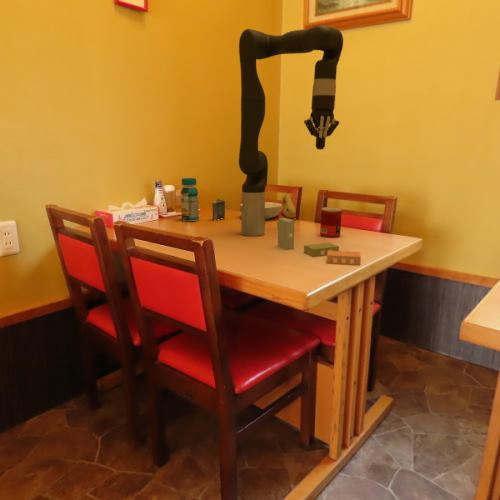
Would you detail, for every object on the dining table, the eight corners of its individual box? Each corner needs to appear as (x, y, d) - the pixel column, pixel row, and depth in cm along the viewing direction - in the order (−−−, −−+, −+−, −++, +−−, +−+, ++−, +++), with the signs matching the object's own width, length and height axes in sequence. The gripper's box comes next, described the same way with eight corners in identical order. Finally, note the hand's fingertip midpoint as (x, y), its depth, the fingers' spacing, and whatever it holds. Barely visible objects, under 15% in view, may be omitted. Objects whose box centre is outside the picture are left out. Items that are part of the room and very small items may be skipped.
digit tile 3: (327, 255, 127) (360, 257, 125) (327, 250, 133) (359, 252, 131) (326, 264, 127) (360, 266, 126) (327, 259, 133) (358, 261, 132)
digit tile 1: (286, 249, 144) (287, 221, 141) (277, 246, 149) (278, 218, 146) (294, 248, 145) (294, 221, 142) (284, 245, 150) (285, 218, 148)
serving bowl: (289, 217, 208) (289, 203, 206) (268, 223, 190) (268, 208, 189) (254, 213, 218) (254, 200, 217) (231, 219, 201) (231, 205, 199)
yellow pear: (289, 231, 173) (290, 196, 169) (274, 227, 182) (275, 193, 178) (302, 230, 176) (303, 195, 172) (287, 225, 185) (288, 192, 181)
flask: (215, 221, 195) (215, 198, 192) (210, 220, 196) (210, 198, 194) (226, 218, 203) (225, 196, 200) (221, 218, 204) (220, 196, 202)
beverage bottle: (198, 222, 193) (196, 179, 188) (180, 222, 193) (178, 179, 188) (200, 218, 201) (199, 177, 196) (183, 218, 201) (181, 177, 196)
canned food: (340, 238, 161) (341, 210, 158) (319, 237, 163) (320, 209, 160) (340, 234, 168) (341, 207, 166) (320, 233, 170) (321, 206, 167)
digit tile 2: (313, 249, 134) (339, 246, 138) (304, 245, 139) (328, 242, 143) (313, 258, 135) (339, 255, 138) (303, 253, 140) (328, 250, 144)
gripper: (334, 96, 140) (329, 148, 145) (300, 94, 135) (297, 148, 140) (347, 95, 134) (342, 150, 139) (312, 92, 129) (309, 149, 133)
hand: (319, 149), depth 139 cm, fingers closed
